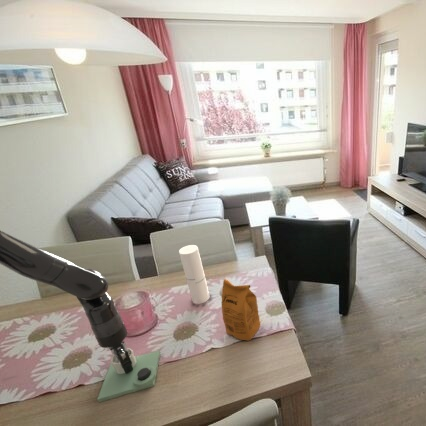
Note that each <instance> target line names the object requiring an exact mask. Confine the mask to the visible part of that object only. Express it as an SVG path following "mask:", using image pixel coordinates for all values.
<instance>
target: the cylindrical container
mask: <svg viewBox="0 0 426 426" xmlns="http://www.w3.org/2000/svg"><path fill="white" fill-rule="evenodd" d="M178 255H179V257H180V262H181V265H182V269H183V272H184V276H185V279H186V282H187V283H186V284H187V287H188V291H189V293H190V297H191V301H192V303H193V304H194V305H201V304H204V303H206V302H207V301H208V300H209V299H210V292H209V288H208V283H207V279H206V275H205V271H204V267H203V262H202V259H201V256H200V255H201V254H200V250H199V247H198V245H196V244H189V245H185V246H183V247H181V248H180V249H179V250H178Z"/></svg>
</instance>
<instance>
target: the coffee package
mask: <svg viewBox="0 0 426 426" xmlns="http://www.w3.org/2000/svg"><path fill="white" fill-rule="evenodd" d="M222 283H223V284H222V292H221V313H222V321H223V323H224V328H225V332H226V334H227V335H229V336H233V338H235V339H237V340H240V341H247V342H249V341H251V340H252V339H253V338H254V336H255V335H256V334H257V332H258V331H259V329H260V327H261V321H260V315H259V306H258V305H259V304H258V300H257V298H258V297H257V295H256V294H255V293H254V292H253V291H252V290H251V289H250V288H251V284H242V285H234V284H233V283H232V282H231V281H230V280H229V279H226V278H225V279H223V282H222Z"/></svg>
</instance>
